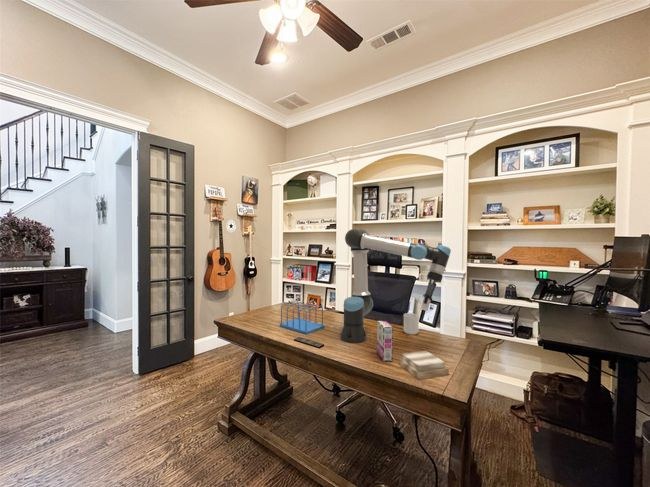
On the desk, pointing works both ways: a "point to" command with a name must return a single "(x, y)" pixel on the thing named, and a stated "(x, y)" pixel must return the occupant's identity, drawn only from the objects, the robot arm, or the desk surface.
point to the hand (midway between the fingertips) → (423, 310)
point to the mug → (411, 323)
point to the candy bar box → (384, 340)
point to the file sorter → (301, 320)
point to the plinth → (423, 374)
